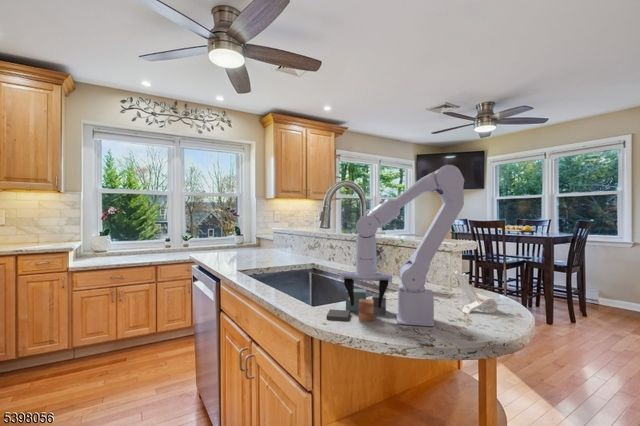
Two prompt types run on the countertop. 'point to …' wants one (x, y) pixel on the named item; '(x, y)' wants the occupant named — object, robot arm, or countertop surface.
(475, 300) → the plastic part
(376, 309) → the slate block
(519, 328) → the countertop surface
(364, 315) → the terracotta block
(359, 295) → the box
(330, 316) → the mat
